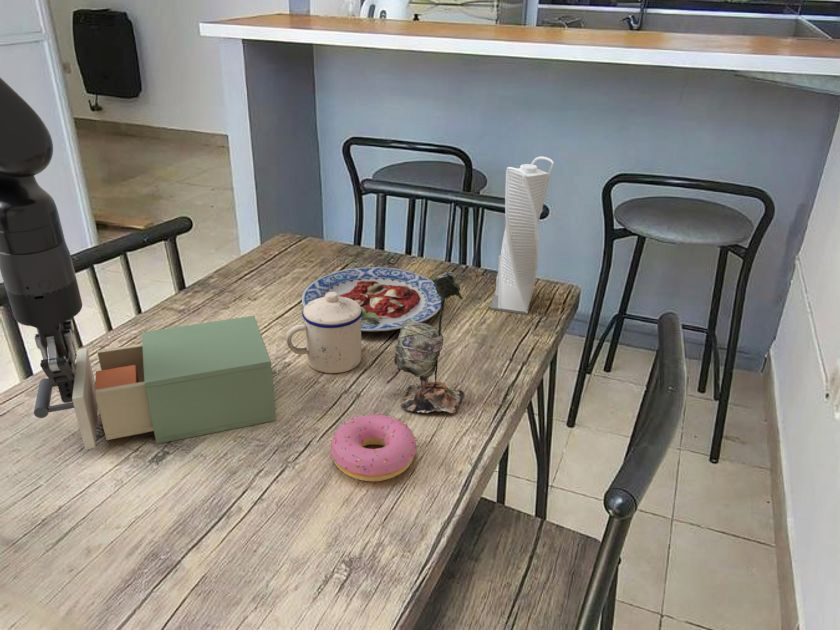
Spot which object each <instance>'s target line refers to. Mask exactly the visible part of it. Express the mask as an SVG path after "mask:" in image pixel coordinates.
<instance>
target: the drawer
mask: <svg viewBox="0 0 840 630" xmlns="http://www.w3.org/2000/svg"><path fill="white" fill-rule="evenodd" d="M76 354H77V356H76V359H75V363H76V364H77V367H76V375H75V377H74V387H73V396H72V400H73V402H68V403H59V404H54V405H51V400H52V393H53V388H58V385H57V383H51V381H50V380H49V378H48V377H47V378H42V379H41V380H39V384H38V387H37V388H38V389H37V394H36V399H35V404H34V408H33V415H34V416H35V418H39V419H44V418H47V416H49V413H53V412H54V413H55V412H59V411H66V410H71V409H74V411H75V415H76V420H77V422H78V427H79V431H80V435H81V438H82V442H83V446H84V450H90V449H95V448H96V445H97V429H98V427H97V425H98V411H99V415H100V420H101V424H102V428H103V433H104V437H105V440H106V441H110V440H114V439H119V438H124V437H125V438H126V437H130V436H136V435H141V434H147V433H150V432H154V429H153V424H152V419H151V414H150V409H149V404H148V399H147V393H146V388H145V383H144V366H143V347H142V343H136V344H130V345H129V344H128V345H122V346H117V347H110V348H102V349H97V357H98V361H99V366H100V371H101V370H107V369H113V368H119V367H125V366H131V365H136V369H137V374H138V379H139V383H133V384H127V385H121V386H115V387H109V388H103V389H97V390H95V379H96V378H95V376H94V370H93V367H92V362H91V359H90V354H89V351H88V347H85V348H79V349H78V348H77V349H76Z"/></svg>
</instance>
